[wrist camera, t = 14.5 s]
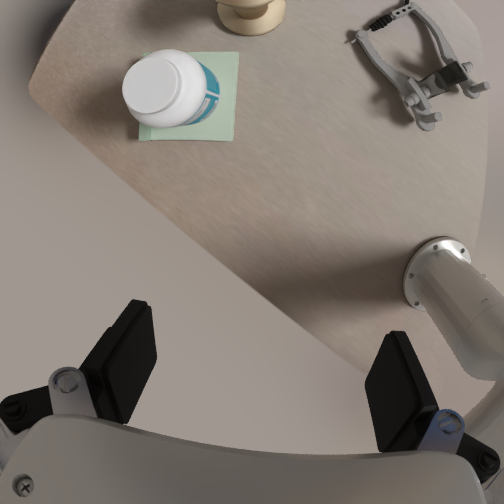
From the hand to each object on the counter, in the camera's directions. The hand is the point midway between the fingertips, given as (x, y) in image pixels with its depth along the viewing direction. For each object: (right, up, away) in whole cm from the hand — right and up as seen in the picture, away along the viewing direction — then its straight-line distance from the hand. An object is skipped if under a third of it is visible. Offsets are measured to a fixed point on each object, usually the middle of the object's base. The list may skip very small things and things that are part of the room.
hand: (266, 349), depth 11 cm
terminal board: (-8, +23, +21) cm, 32 cm away
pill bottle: (-8, +22, +21) cm, 31 cm away
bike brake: (+19, +30, +17) cm, 39 cm away
